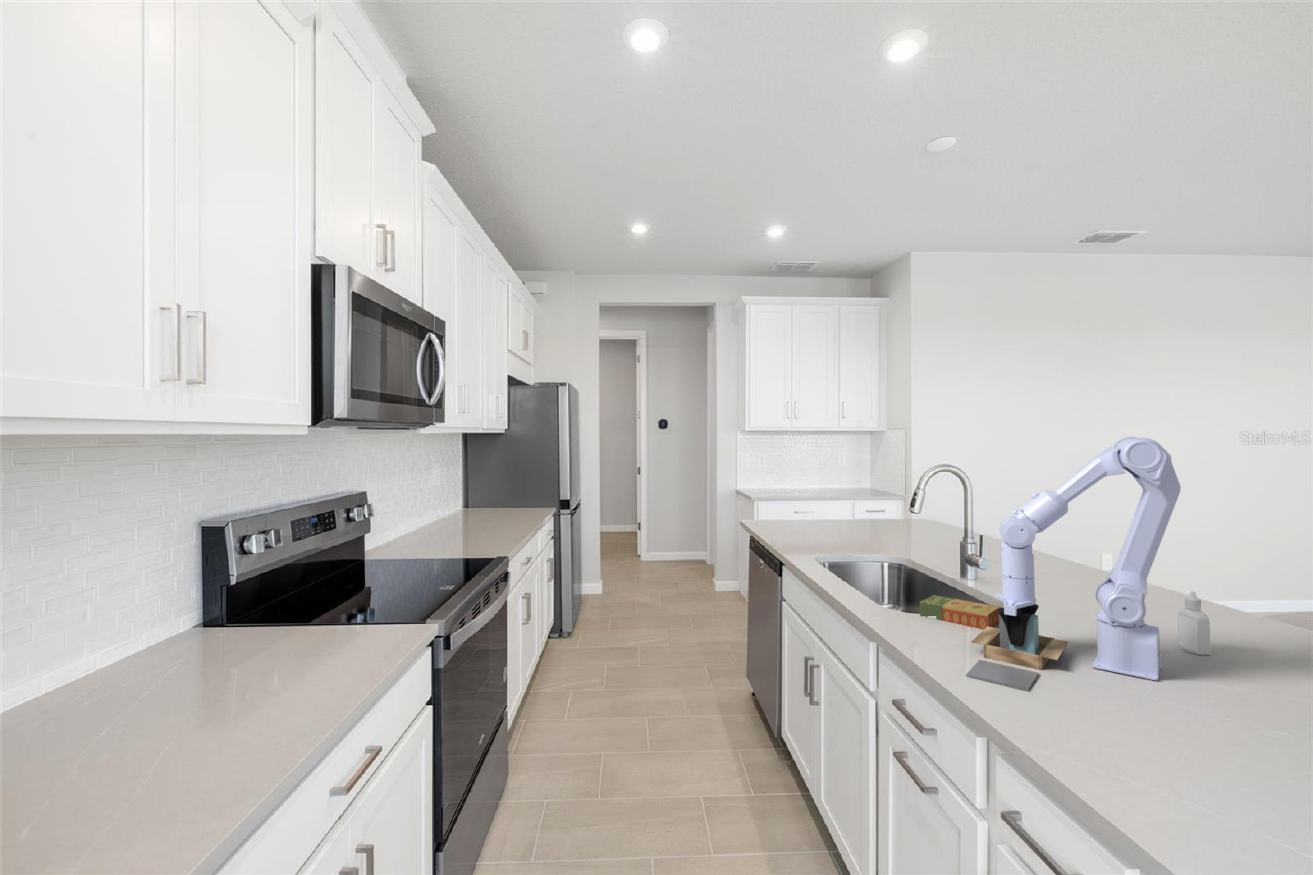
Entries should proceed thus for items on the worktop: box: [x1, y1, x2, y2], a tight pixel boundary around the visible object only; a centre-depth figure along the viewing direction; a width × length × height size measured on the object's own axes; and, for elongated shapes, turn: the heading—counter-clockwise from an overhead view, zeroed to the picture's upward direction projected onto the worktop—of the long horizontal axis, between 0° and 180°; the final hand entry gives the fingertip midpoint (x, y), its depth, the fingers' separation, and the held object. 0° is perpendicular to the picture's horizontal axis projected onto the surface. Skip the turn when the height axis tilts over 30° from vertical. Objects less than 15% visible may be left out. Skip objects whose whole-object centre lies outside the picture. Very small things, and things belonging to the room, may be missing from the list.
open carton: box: [970, 626, 1069, 671], centre depth 119 cm, size 15×13×2 cm
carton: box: [919, 594, 1002, 631], centre depth 142 cm, size 8×16×4 cm, turn 41°
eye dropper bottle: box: [1177, 591, 1211, 656], centre depth 118 cm, size 4×6×12 cm
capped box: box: [998, 614, 1040, 655], centre depth 119 cm, size 6×4×8 cm
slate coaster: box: [965, 659, 1040, 692], centre depth 109 cm, size 10×9×1 cm
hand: (1019, 642), depth 119 cm, fingers closed on capped box, 4 cm apart
